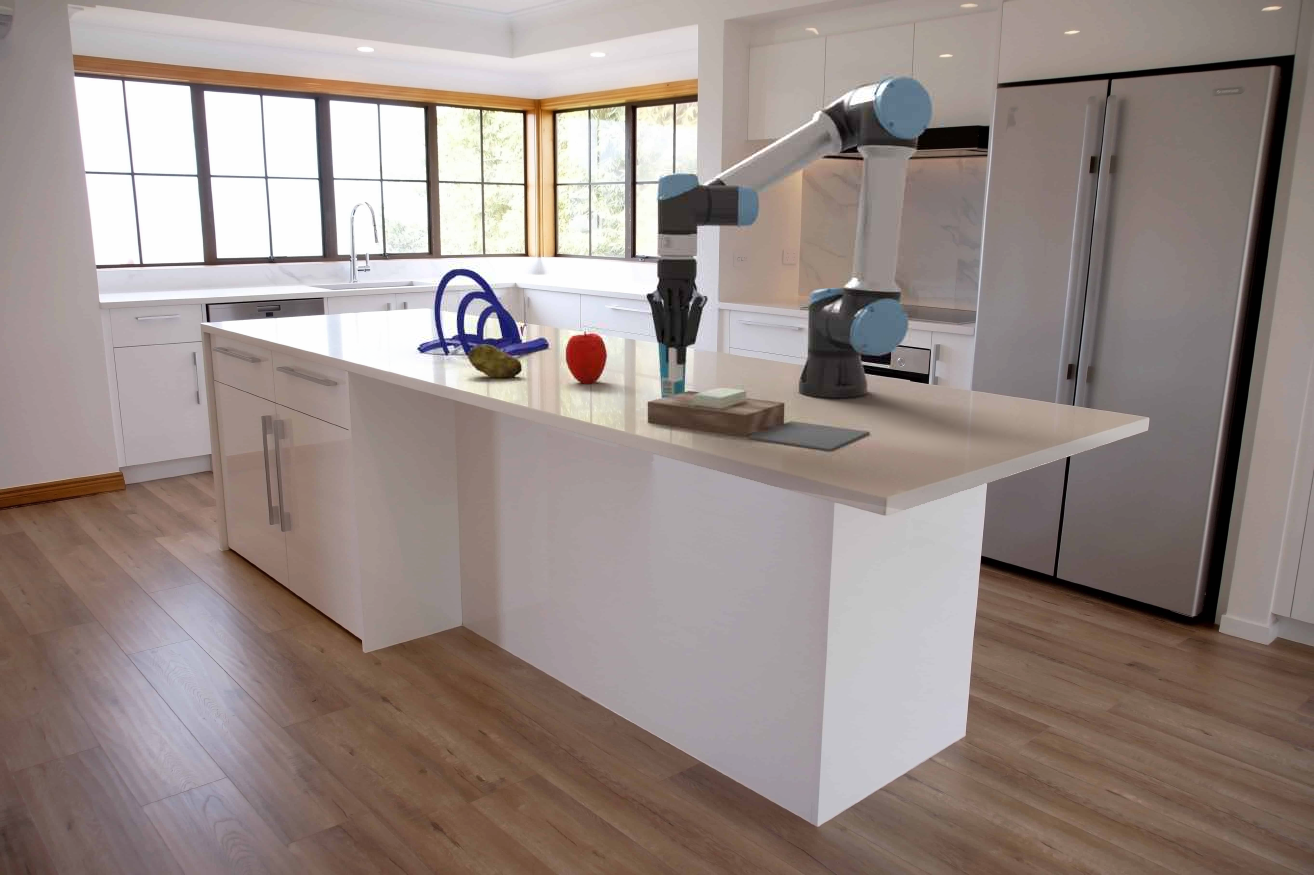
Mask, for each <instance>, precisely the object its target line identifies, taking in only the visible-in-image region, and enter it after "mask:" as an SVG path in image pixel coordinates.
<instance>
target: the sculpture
mask: <svg viewBox="0 0 1314 875" xmlns="http://www.w3.org/2000/svg"><path fill="white" fill-rule="evenodd" d="M459 276H460V277H461V276H462V277H466V278H470V280H471V279H472V280H473V281H474V282H475V283H476V284H478V286H480V287H481V289H483V291H482V290H481V291H480V290H479V291H478V290H477V291H472V292H468V293H467V294H465V295H464V297H463V298H462V299H461V301H460V303H459V305H458V307H457V308H458V309H457V312H456V328H457V329H456V331H457V334H455V335H453V336H452V337H449V338H447V337H445V336H444V332H443V328H442V318H441V305H442V299H443V296H444V295H443V294H444V293H445V289H446V287H447V285H448V283H450V282H451V281H452V280H453V279H455V278H456V277H459ZM474 299H475V300H476V299H480V300H484V301H485V302H487V303H489V304H490V305H489V306H487V307H486V308H484V309H483V310H482V311H481V313H480V315H479V317H478V320H477V322H476V323H477V324H476V334H475V333H466V331H465V315H466V311H467V308H468V306H469V304H471V302H472V301H473V300H474ZM433 310H434V312H433V313H434V321H435V322H434V323H435V328H436V333H437V336H438V339H433V340H430V341H425V342H423V343H420V344H419V346H418V347H417V348H416V350H418V351H419V353H421V354H422V353H427V352H430V351H433V350H437V349H442V351H443V353H444V355H445V357H448V356H449V354H450V353H451V352H450V350H449V348H448V347H451V346H453V348H454V349H457V348H458V347H461V348H462V350H463V352H464V353H465V355H466V356H467V357H468V358H469V356H468V354H469V351H470V350H471V349H472V348H473V347H475V346H476V345H479V344H487V345H492V346H494V347H496V348H497V349H499V350H501V351H503V352H505V353H506V354H508V355H511V356H513V357H517V356H518V357H519V356H522V355H527V354H529V353H533V351H534V352H538V351H537V350H539V351H542V350H541V349H543V350H547V348H548V349H549V347H550V344H549V342H548V340H547V339H546V338H545V337H539V338H537V339H534V340H528V341H525V342H523V339H521V336H524V329H525V328H527V323H524V325H523V326H522V325H520V327H518V325H517V323H516V320H515V319H514V318H513V316H512V315H511V314H510V312H509V311H508V310H506V308H504V306H503V305H502V303H501V302H500V301H499V299H498V297H497V295H496V294H495V292H494V290H493V288H492V287H491V286H490V285H489V283H488V282H487V280H486V279H484V278H483V277H482V275H480V274H479V273H477V272H476V271H474V270H471V269H467V268H455V269H451V270H449V271H447V272H446V273H445V274H444V275H443V276H442V278H441V280H440V281H439V284H438V286H437V289H436V293H435V299H434V308H433ZM492 313H495V314H496V317H497V320H498V324H499V325H498V326H499V329H500V334H501V338H492V337H491V338H490V337H488V338H485V339H484V328H485V324H486V322H487V320H488V319H489V317H490V316H491V315H492ZM519 328H520V331H519ZM520 333H521V334H520Z"/></svg>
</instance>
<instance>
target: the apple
mask: <svg viewBox="0 0 1314 875" xmlns="http://www.w3.org/2000/svg"><path fill="white" fill-rule="evenodd" d="M607 354H608V353H607V347H606V344H605V342H604V340H603V337H601V336H600V335H599V334H597V333H593V332H592V333H586V331H584V334H575V335H571V337H570V338H569V339H568V342H567V344H566V348H565V362H566V365H567V367H568V370H569V372H570V373H571V375H572V376H573V378H574V379H575V380H576V381H578V383H581V384H593V383H596V382H597V381H598V380H599V379H600V377H601V376H602V374H603V371H604V370H605V367H606V363H607V358H608V355H607Z"/></svg>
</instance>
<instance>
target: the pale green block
mask: <svg viewBox="0 0 1314 875" xmlns="http://www.w3.org/2000/svg"><path fill="white" fill-rule="evenodd" d="M746 398H747V390H744V389H743V390H742V389H737V388H735V389H734V388H729V387H728V388H727V387H715V388H713V389H709V390H706V391H702V392H701V393H697V394H694V405H698V406H706V407H713V408H724V407H727V406H731V405H734V404H737V403H741V402H744V401H746Z"/></svg>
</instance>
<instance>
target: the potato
mask: <svg viewBox="0 0 1314 875" xmlns="http://www.w3.org/2000/svg"><path fill="white" fill-rule="evenodd" d="M468 356H469V357H468ZM468 356H467V357H468V361H469V363H470V364H471V366H473V368H474V369H475V370H476V371H479V372H481V373H483V374H484V375H486V376H488V377H490V378H494V379H506V378H514V377H516V376H518V375H519V374H520V373H521V372H522V370H523V369H522V368H523V367H522V362H521V361H520V360H519V359H518V358H516V357H515V356H511V355H508V354H506V353H505V352H503V351H501V350H499V349H497V348H496V347H494V346H492V345H487V344H479V345H476V346H475V347H473V348H471V350H470V351H469V354H468Z"/></svg>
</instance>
